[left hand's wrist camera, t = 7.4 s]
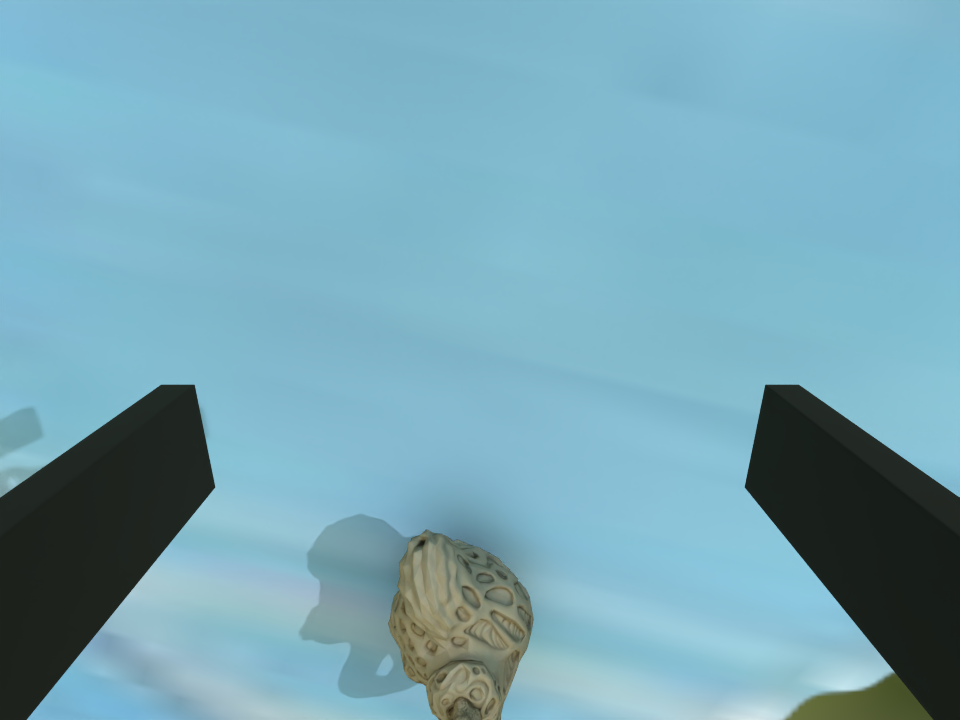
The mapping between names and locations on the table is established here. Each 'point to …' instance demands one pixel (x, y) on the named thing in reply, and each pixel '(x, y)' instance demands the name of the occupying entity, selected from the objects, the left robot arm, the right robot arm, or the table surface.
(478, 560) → the beige patterned figurine
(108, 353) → the table surface
